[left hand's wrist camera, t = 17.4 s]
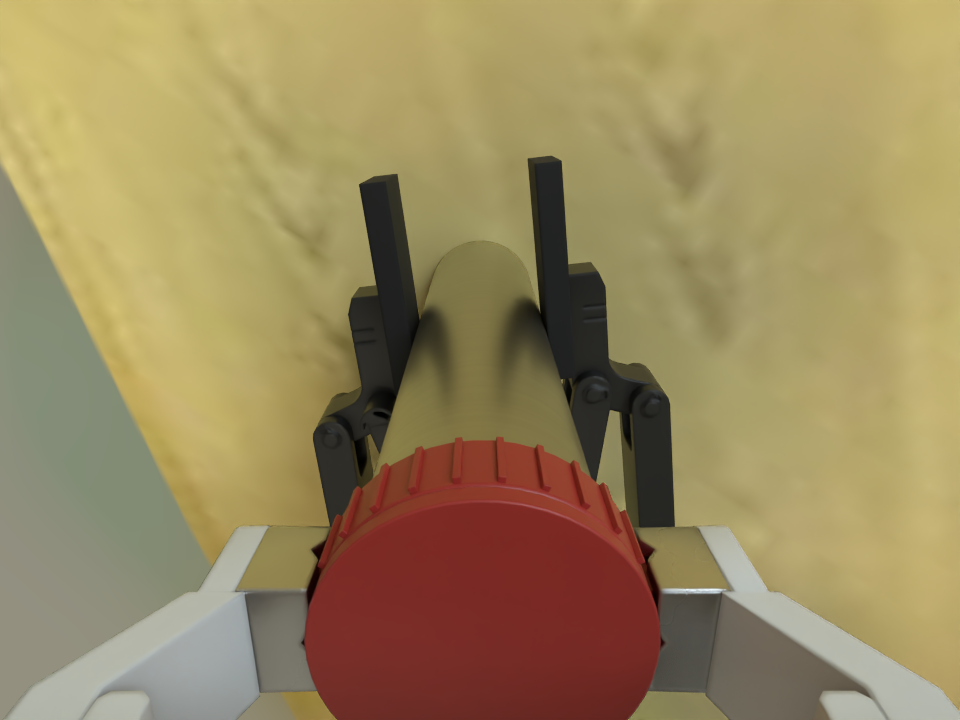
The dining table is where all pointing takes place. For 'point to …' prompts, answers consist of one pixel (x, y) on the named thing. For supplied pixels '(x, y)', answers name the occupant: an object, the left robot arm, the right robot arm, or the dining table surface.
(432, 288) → the olive cylindrical rod
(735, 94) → the dining table surface
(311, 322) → the dining table surface
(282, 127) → the dining table surface
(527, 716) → the lid
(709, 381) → the dining table surface
